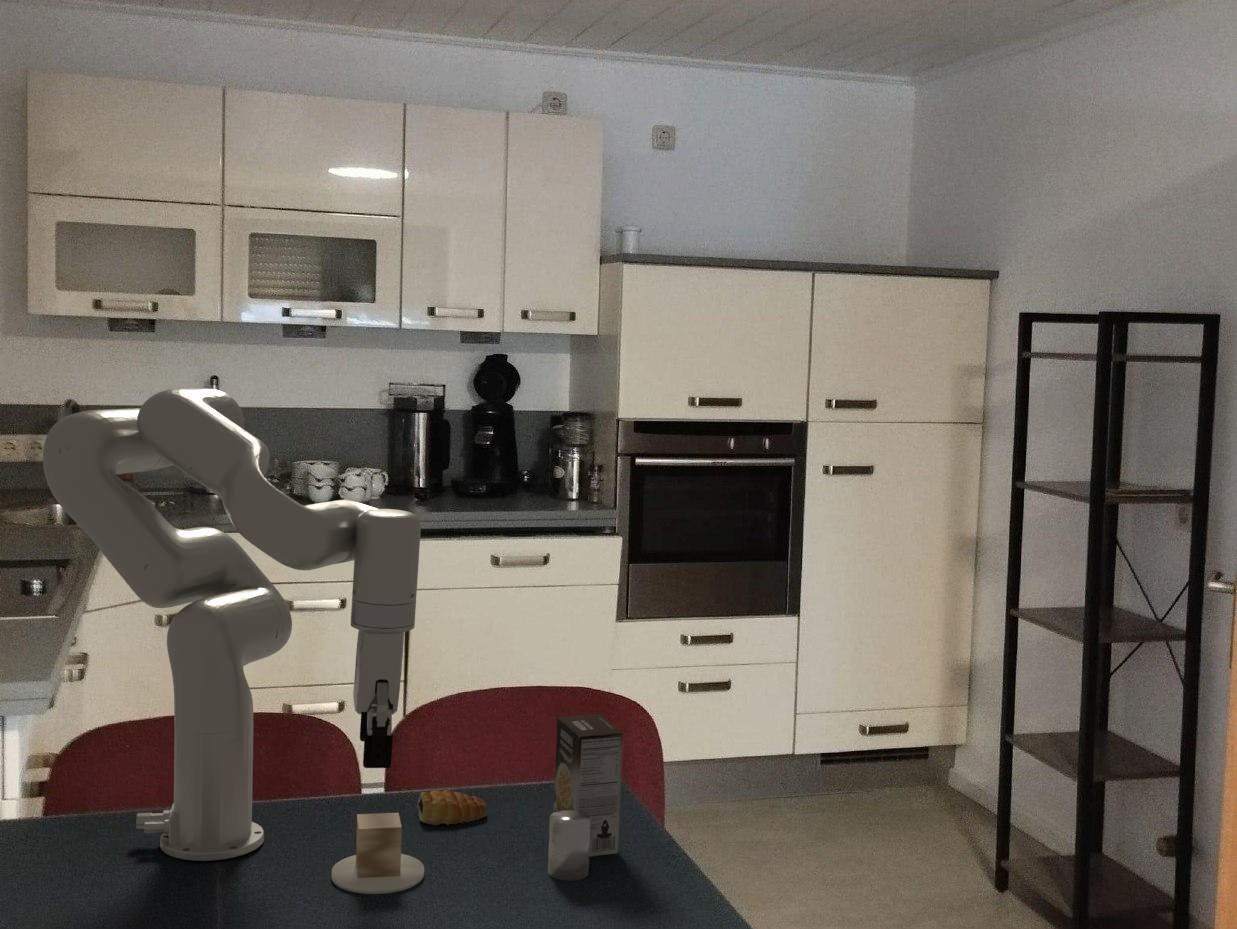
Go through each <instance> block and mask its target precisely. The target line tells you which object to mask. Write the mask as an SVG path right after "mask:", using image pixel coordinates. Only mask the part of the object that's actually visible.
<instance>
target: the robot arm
mask: <svg viewBox="0 0 1237 929" xmlns="http://www.w3.org/2000/svg"><path fill="white" fill-rule="evenodd" d="M244 418H245V417H244V413H243V410H242V409H241V406H240V405H239V404H238V403H237V401H236V400H235V399H234V398H233V396H230V395H229V394H228V393H227V392H224V391H222V390H219V389H215V388H208V387H206V388H172V389H166V390H162V391H159V392H157V393H154V394H153V395H152V396H149V398H148V399H146V400H145V401H144V403H143V404H142V405H141V406H140V407H135V408H134V407H132V408H111V409H109V408H108V409H106V408H105V409H104V408H103V409H92V410H91V409H89V410H85V411H83V410H82V411H80V412H75V413H72V414H69V415H67V416H64V417H63V418H61V419H60V420H58V421H57V422H56V423H54V425H52V427H51V428H50V429H49V432H48V433H47V435H46V437H45V440H44V445H43V451H42V465H43V473H44V477H45V480H46V483H47V485H48V487H49V490H50V493H51V494H52V496H53V497H54V499H55V500H56V501H57V503H58V505H59V506H60V507H61V508H62V510H63V511H64V513H66V514H67V515H68V516H69V517H70V518H71V519H72V520H73V521H74V522H75V523H76V524H77V525H78V526H79V527H80V529H81V530H82V531H84V532H85V534H86V535H87V536H89V538H90V540H91V541H92V542H93V543H94V544H95V545H96V547H97V548H98V549H99V551H100V552H101V554H103V556H104V557H105V558H106V560H107V561H108V562H109V564H110V565H111V566H112V567H113V568H114V569H115V571H116V572H117V573H118V574H119V575H120V577H121V578H122V579H123V581H125V583H126V584H127V586H129V588H130V589H131V591H132V592H133V593H134V594H135V595H136V596H137V597H138V598H139V599H140V600H141V601H142V602H143V603H144V604H146V605H147V606H149V607H151V608H155V609H167V608H168V609H169V608H173V607H174V608H175V607H178V606H182V605H185V606H183V608H181V609H180V610H179V611H178V612H177V613H176V614H175V616H174V617H173V618H172V620H171V622H170V623H169V627H168V630H167V635H166V647H167V653H168V654H167V655H168V659H169V664H170V670H171V676H172V684H173V685H172V686H173V704H174V705H173V706H174V712H173V713H174V714H173V715H174V716H173V718H174V720H173V722H174V723H173V724H174V734H173V735H174V737H173V738H174V744H173V750H174V751H173V752H174V753H173V754H174V756H173V759H174V760H173V803H172V805H171V809H164V810H163V811H162V812H156V813H153V812H138V813H137V814H136V820H135V821H136V822H135V823H136V824H135V826H136V830H137V829H140V830H141V829H143V832H144V834H155V833H162V834H161V836H160V837H159V838H160V840H159V841H160V842H159V843H160V844H159V846H160V849H161V851H162V852H163V853H165V854H166V855H168V856H170V857H173V858H175V859H178V860H179V859H180V860H184V861H192V862H193V861H195V862H196V861H197V862H209V861H222V860H227V859H234V858H237V857H241V856H245V855H247V854H249V853H252V852H253V851H256V850H257V849H258V848H259V847H261V845H263V843H264V842H265V830H264V829H263V827H262V826H261V825H259V824H258V823H256V822H254V821H253V777H254V775H253V770H254V769H253V767H254V766H253V765H254V763H253V762H254V761H253V760H254V700H253V695H252V692H251V688H250V686H249V684H248V681H247V678H246V675H245V671H244V666H246V665H249V664H250V663H254V662H257V661H259V660H263V659H265V658H268V657H271V656H272V655H274V654H277V653H278V652H280V651H281V650H282V649H283V648H284V646H286V644H288V641H289V639H291V638H290V637H291V634H292V629H293V620H292V619H293V618H292V615H291V611H290V609H289V606H288V603H287V602H286V600H285V598H284V597H283V595H282V594H281V593H280V591H279V590H278V589H277V588H276V587H275V585H274V584H273V583H272V582H271V581H270V579H269V578H268V576H266V575H265V574H264V572H263V571H262V569H260V568H259V566H258V565H257V564H256V562H255V561H253V559H252V558H251V557H250V556H249V555H248V553H247V552H246V551H245V550H244V548H243V547H242V546H241V545H240V544H239V543H238V542H237V541H236V540H235V539H234V538H232V537H231V536H230V535H228V534H227V533H225V532H224V531H222V530H219V529H218V528H214V527H209V526H196V527H190V528H184V529H181V528H176V527H175V526H173V525H172V524H171V523H170V522H169V521H168V520H166V519H165V517H164V516H163V515H162V514H161V513H160V512H159V511H158V509H157V508H156V506H155V505H154V504H153V502H151V501H150V499H148V498H147V496H145V495H144V494H143V493H142V492H140V491H139V490H137V489H136V488H134V487H132V486H131V485H129V484H127V482H125V481H123V480H122V479H121V478H120V477H118V476H117V475H122V474H125V475H126V474H132V473H141V472H143V473H144V472H148V471H149V472H150V471H155V470H159V469H164V468H168V467H172V466H174V467H176V468H178V469H179V470H180V471H182V472H183V473H184V474H186V475H188V477H190V478H191V479H193V480H194V481H195V482H198V483H199V484H201V486H202V487H204V488H205V489H208V491H210V492H211V493H213V494H215V496H217V497H219V498H220V499H221V501H222V505H223V508H224V511H225V513H226V515H227V517H228V519H229V520H230V522H231V524H232V526H233V527H234V528H235V530H236V531H237V532H238V533H239V534H240V535H241V536H242V537H243V538H244V539H245V540H246V541H248V543H250V544H251V545H252V546H254V547H256V548H257V549H258V550H260V551H261V552H262V553H264V554H265V555H267V556H268V557H269V558H272V559H273V560H274V561H276V562H278V563H279V564H281V565H283V566H286V567H287V568H290V569H293V570H297V571H313V570H316V569H321V568H324V567H328V566H333V565H337V564H343V563H348V562H349V563H350V562H352V561H353V578H352V590H351V591H352V593H351V597H352V598H351V611H350V626H351V627H352V628H354V629H356V630H358V633H357V638H356V640H357V642H356V649H355V650H356V652H355V664H354V665H355V669H354V683H353V693H352V695H353V705H354V712H356V714H358V715H360V723H359V724H360V728H359V740H360V742H364V743H363V757H362V758H363V759H362V766H363V768H365V769H389V768H391V766H392V755H393V754H392V752H393V738H394V734H393V733H392V731H393V729H392V728H393V715H394V714H396V713H397V711H398V706H399V699H400V691H401V682H402V681H401V679H402V673H403V672H402V670H403V658H404V656H403V654H404V644H405V642H404V641H405V633H406V632H410V631H412V630H413V629H414V628H415V624H416V623H415V622H416V610H417V609H416V607H417V594H418V593H417V591H418V579H419V578H418V577H419V576H418V575H419V561H420V560H419V559H420V549H421V548H420V546H421V528H422V526H421V522H420V519H419V517H418V516H417V515H416V514H415V513H413V512H410V511H407V510H400V509H396V508H395V509H393V508H377V507H374V506H370V505H367V504H364V503H361V502H358V501H356V500H355V501H354V500H350V499H349V500H348V499H338V500H337V499H336V500H332V501H331V500H330V501H324V502H323V501H322V502H318V503H313V504H312V503H311V504H306V505H303V504H300V503H299V502H298V501H296V500H295V499H293V498H291V497H290V496H289V495H287V494H285V493H284V492H282V491H281V490H280V489H278V488H277V487H275V485H273V484H272V483H271V482H270V481H269V480H268V479H267V478H266V477H265V475H266V474H267V472H268V468H269V464H270V461H271V460H270V459H271V457H270V456H271V455H270V451H269V448H268V447H267V445H266V444H265V443H264V441H262V440H261V439H259V438H257V437H256V436H254V435H253V434H251V433H250V432H248V431H247V430H246V429H245V419H244ZM186 604H187V605H186Z"/></svg>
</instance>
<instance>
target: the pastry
mask: <svg viewBox="0 0 1237 929" xmlns="http://www.w3.org/2000/svg"><path fill="white" fill-rule="evenodd" d="M416 807H417V810H418V813H417V815H418V817H419V821H420V822H422V823H424V824H425V823H426V825H429V824H432V825H431V826H439V825H441V824H446V826H450V825H449V824H455V825H456V824H457V823H462V824H464V823H463V822H467V821H473V822H475V821H474V820H477V821H479V820H481V819H484V818H485V817H486V816H487V814H488V812H487V810H488V809H487V803H486V801H485V800H483V799H482V798H480V797H478V796H475V795H472V796H470V795H469V794H466V793H463V792H460V791H459V792H458V791H452V790H450V789H445V790H443V791H441V790H435V789H434V790H431V791H430V792H427V791H422V792H420V796H419V797H418V801H417V806H416ZM483 817H484V818H483ZM480 818H481V819H480Z"/></svg>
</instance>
